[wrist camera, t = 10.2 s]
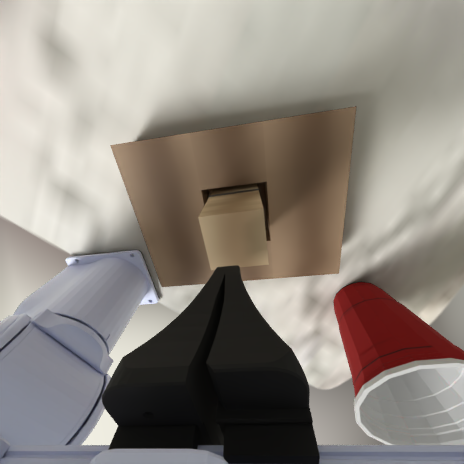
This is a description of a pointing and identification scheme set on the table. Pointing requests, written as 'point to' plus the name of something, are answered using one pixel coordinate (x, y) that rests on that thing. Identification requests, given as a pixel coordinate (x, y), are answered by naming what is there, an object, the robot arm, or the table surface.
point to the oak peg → (234, 227)
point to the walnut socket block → (240, 173)
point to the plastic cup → (400, 370)
